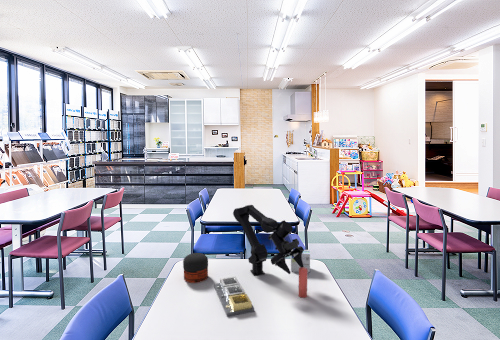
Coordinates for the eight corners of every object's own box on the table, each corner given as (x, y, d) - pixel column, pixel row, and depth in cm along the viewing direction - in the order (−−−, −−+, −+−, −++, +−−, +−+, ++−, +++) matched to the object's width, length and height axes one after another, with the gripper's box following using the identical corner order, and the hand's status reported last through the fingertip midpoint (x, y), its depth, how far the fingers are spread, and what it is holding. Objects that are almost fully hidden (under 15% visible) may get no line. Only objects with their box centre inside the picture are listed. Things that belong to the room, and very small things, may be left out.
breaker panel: (214, 286, 154) (213, 279, 154) (237, 283, 158) (237, 275, 157) (227, 316, 129) (226, 307, 128) (254, 311, 132) (254, 302, 132)
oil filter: (192, 270, 173) (178, 280, 161) (191, 249, 172) (178, 257, 160) (212, 274, 168) (200, 284, 156) (212, 252, 167) (199, 261, 155)
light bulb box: (309, 267, 177) (309, 249, 176) (310, 272, 170) (310, 253, 169) (290, 267, 178) (290, 248, 177) (290, 272, 171) (290, 253, 170)
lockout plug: (296, 295, 146) (297, 268, 144) (302, 292, 148) (302, 266, 147) (303, 298, 143) (303, 271, 141) (308, 295, 145) (309, 269, 144)
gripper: (274, 238, 144) (292, 268, 137) (301, 230, 156) (318, 257, 148) (263, 250, 151) (279, 279, 143) (289, 241, 163) (305, 268, 155)
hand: (296, 270), depth 147 cm, fingers open, 9 cm apart
